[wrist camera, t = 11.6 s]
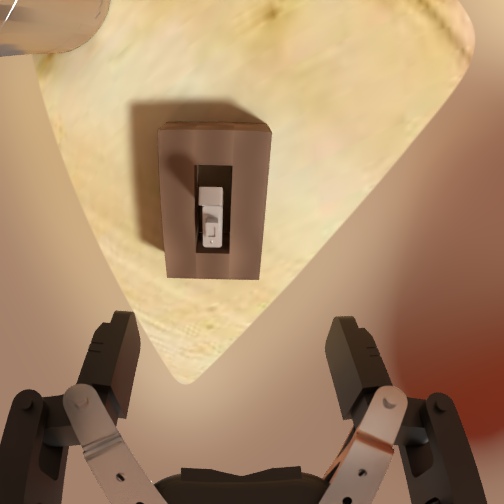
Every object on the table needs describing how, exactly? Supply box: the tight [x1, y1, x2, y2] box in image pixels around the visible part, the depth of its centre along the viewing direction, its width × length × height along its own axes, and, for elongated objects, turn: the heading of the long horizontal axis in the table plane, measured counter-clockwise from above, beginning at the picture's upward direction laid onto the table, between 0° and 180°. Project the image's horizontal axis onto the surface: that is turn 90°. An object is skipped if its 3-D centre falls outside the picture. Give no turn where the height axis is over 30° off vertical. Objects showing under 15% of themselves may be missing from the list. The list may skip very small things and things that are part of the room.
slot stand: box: [158, 122, 272, 280], centre depth 30 cm, size 9×15×4 cm, turn 176°
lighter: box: [199, 187, 224, 247], centre depth 28 cm, size 7×2×8 cm, turn 177°
